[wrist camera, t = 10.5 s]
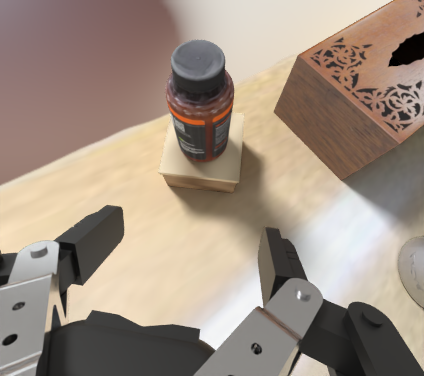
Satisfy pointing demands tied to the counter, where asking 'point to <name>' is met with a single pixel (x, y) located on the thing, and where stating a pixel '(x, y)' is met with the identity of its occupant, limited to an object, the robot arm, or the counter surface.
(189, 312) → the counter surface
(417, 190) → the counter surface
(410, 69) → the tissue box cover
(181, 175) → the pedestal
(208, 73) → the supplement bottle
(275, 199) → the counter surface
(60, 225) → the counter surface
